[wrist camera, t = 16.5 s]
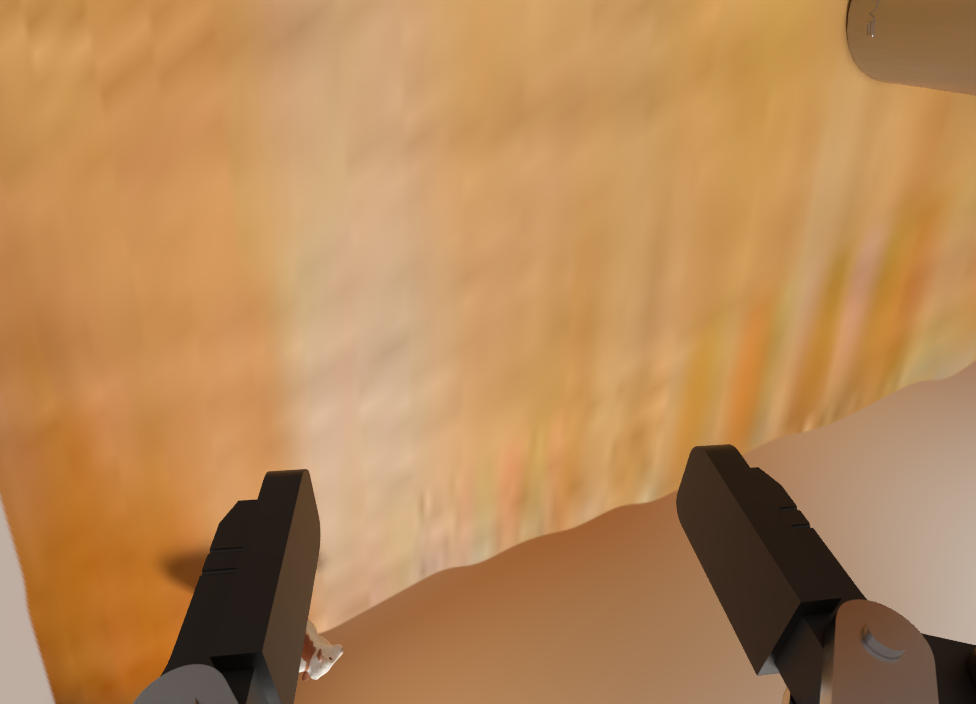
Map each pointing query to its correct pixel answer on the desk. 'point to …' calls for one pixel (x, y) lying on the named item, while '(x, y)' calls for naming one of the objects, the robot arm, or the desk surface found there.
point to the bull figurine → (317, 654)
